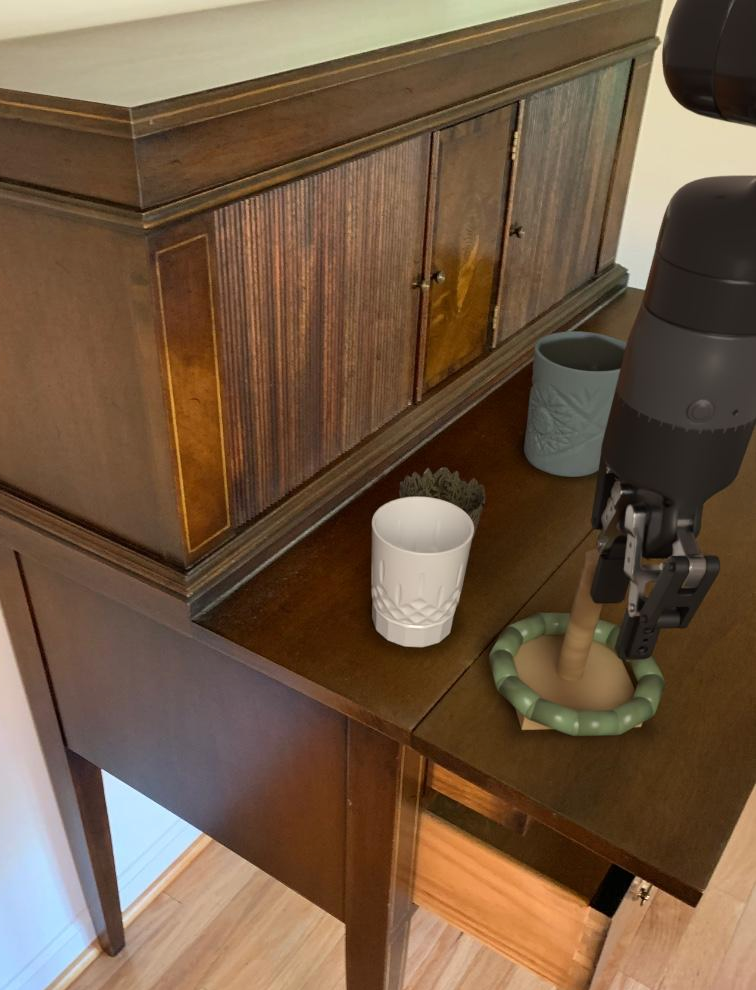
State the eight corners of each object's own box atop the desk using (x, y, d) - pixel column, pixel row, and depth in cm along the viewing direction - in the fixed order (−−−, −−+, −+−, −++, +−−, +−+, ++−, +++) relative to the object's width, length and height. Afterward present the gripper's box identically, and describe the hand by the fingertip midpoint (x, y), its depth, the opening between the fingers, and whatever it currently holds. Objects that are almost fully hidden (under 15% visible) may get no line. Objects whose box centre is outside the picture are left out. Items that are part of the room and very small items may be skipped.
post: (605, 646, 75) (642, 519, 67) (641, 727, 68) (687, 597, 60) (497, 648, 75) (521, 521, 67) (521, 730, 68) (551, 599, 60)
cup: (491, 564, 84) (503, 490, 78) (439, 600, 80) (449, 524, 74) (428, 530, 88) (436, 457, 83) (376, 562, 84) (381, 488, 79)
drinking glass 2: (513, 472, 96) (532, 365, 88) (519, 427, 104) (537, 324, 96) (613, 485, 94) (641, 377, 87) (611, 438, 102) (637, 335, 94)
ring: (629, 624, 75) (635, 607, 74) (683, 739, 65) (689, 722, 64) (476, 625, 75) (479, 608, 74) (507, 742, 65) (511, 724, 64)
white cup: (346, 614, 78) (351, 516, 72) (417, 581, 82) (427, 485, 75) (406, 666, 73) (417, 566, 67) (478, 629, 77) (495, 531, 70)
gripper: (819, 457, 44) (715, 704, 55) (706, 335, 55) (639, 560, 66) (666, 459, 44) (592, 707, 55) (584, 336, 55) (536, 562, 66)
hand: (618, 625), depth 60 cm, fingers open, 5 cm apart
